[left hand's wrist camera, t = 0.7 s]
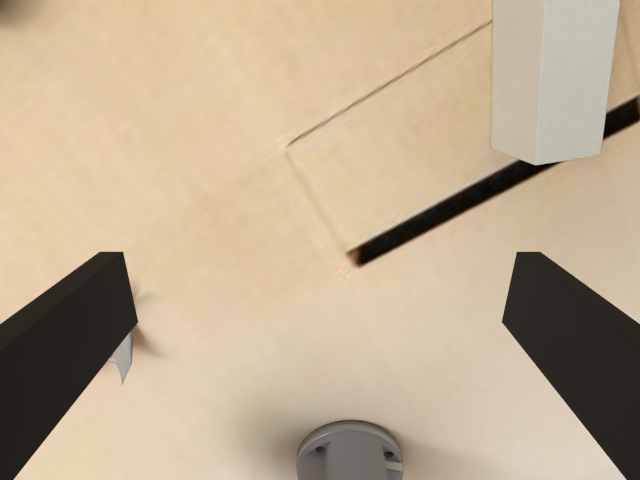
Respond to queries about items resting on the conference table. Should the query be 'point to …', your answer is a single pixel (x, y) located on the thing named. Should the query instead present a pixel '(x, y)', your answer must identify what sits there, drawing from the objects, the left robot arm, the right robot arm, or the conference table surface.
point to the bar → (551, 77)
